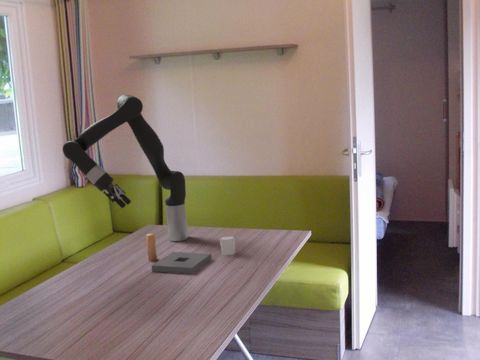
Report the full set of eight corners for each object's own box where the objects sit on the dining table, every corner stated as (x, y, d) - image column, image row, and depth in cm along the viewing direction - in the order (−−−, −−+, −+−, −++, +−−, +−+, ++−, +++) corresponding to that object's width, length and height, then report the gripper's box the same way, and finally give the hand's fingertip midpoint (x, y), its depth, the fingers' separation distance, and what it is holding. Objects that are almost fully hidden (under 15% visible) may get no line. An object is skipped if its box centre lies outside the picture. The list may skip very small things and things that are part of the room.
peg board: (173, 257, 243) (173, 251, 243) (211, 259, 236) (210, 253, 236) (152, 271, 227) (151, 265, 226) (192, 274, 220) (191, 267, 219)
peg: (151, 257, 245) (148, 233, 243) (158, 258, 243) (156, 233, 241) (147, 260, 241) (144, 235, 240) (154, 261, 240) (151, 236, 238)
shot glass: (236, 255, 239) (235, 239, 238) (220, 256, 240) (218, 240, 238) (236, 250, 246) (235, 235, 245) (221, 251, 246) (219, 236, 245)
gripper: (100, 174, 231) (128, 201, 232) (110, 169, 245) (137, 196, 246) (88, 186, 232) (116, 214, 233) (98, 181, 246) (125, 207, 247)
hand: (127, 205), depth 239 cm, fingers open, 8 cm apart
